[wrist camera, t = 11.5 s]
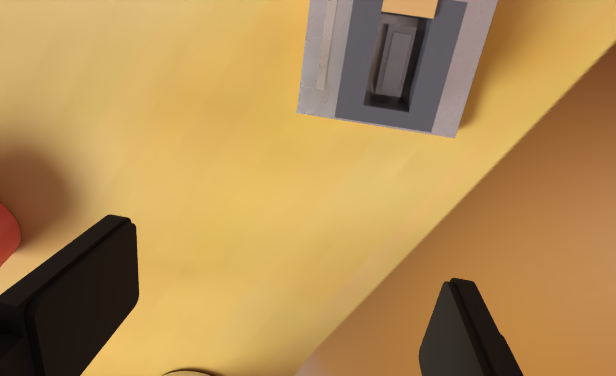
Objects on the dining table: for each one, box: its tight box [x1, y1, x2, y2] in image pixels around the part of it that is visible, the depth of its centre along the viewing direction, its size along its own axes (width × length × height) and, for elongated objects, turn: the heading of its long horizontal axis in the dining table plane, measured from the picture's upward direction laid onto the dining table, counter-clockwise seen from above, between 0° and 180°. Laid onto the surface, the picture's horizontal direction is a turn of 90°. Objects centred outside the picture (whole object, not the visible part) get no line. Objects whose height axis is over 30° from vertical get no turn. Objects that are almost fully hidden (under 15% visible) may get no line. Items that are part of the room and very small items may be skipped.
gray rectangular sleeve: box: [335, 0, 468, 133], centre depth 23 cm, size 7×6×5 cm
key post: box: [297, 0, 498, 138], centre depth 24 cm, size 10×12×6 cm
